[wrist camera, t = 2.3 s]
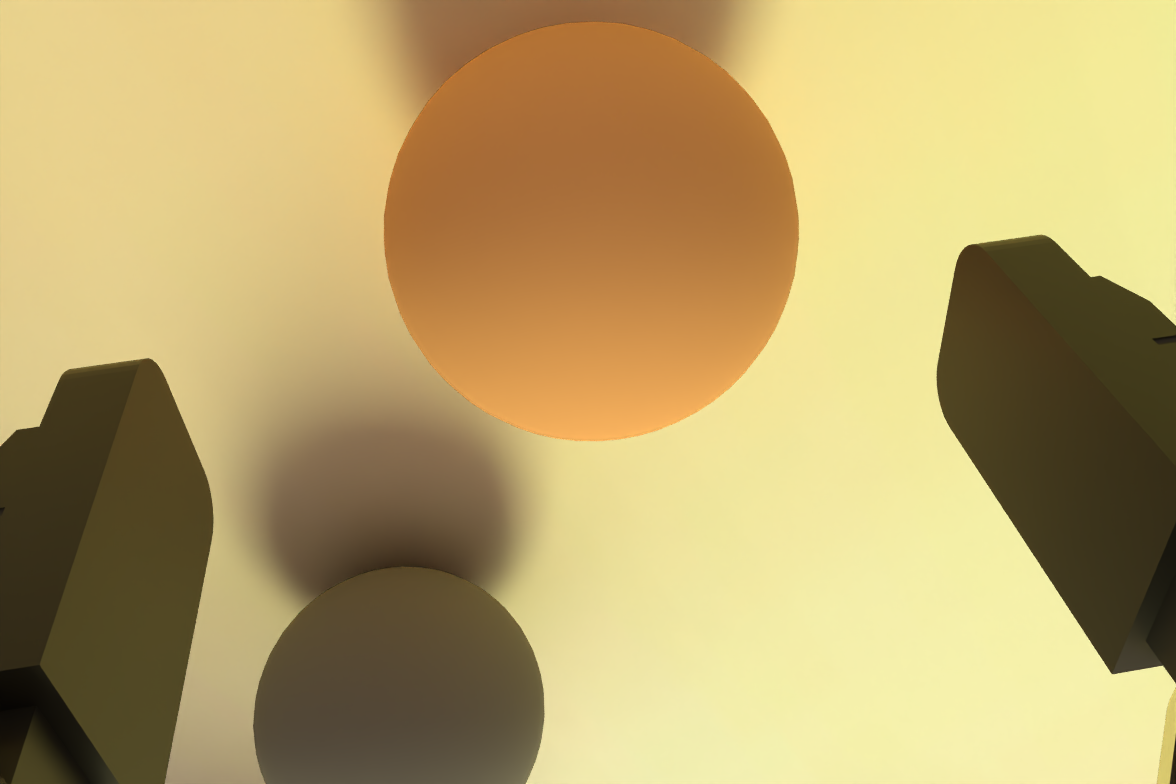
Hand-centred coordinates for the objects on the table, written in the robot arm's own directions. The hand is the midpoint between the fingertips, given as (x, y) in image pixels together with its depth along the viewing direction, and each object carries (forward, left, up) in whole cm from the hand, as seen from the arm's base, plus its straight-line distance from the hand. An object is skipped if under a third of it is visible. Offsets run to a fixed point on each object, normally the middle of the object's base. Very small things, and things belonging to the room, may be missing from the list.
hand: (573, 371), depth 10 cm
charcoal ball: (+3, +9, -5) cm, 11 cm away
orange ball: (-1, 0, -5) cm, 5 cm away
